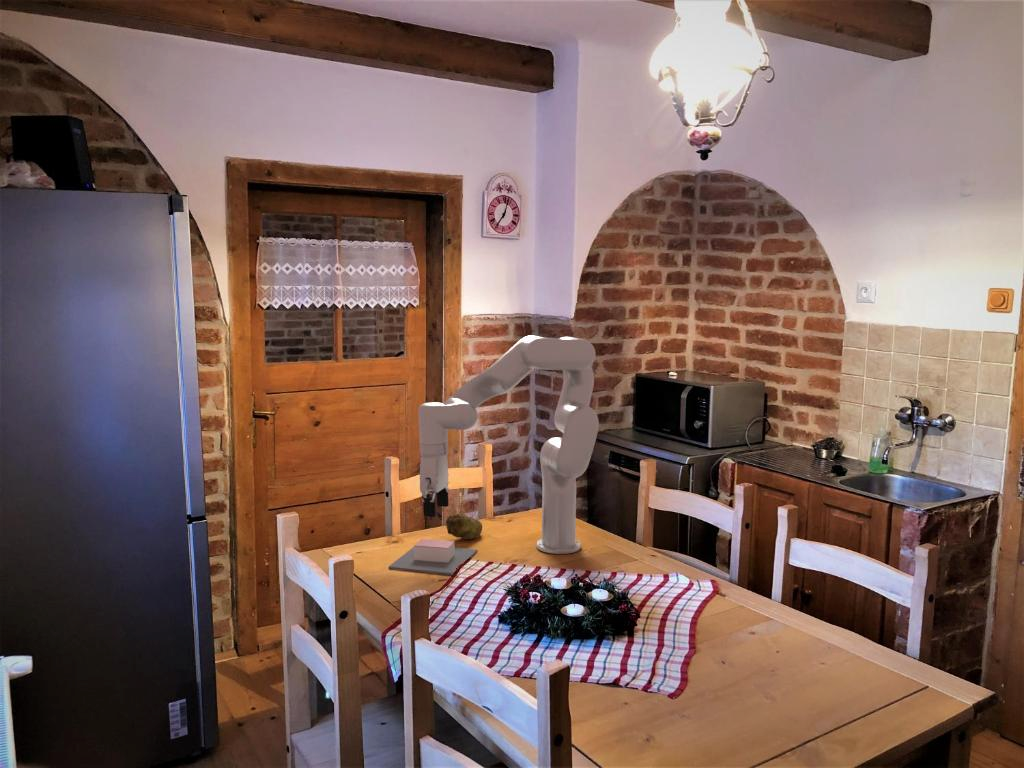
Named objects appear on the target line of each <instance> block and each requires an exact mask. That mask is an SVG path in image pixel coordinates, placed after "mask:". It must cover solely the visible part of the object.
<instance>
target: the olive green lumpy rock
mask: <svg viewBox="0 0 1024 768" xmlns="http://www.w3.org/2000/svg"><path fill="white" fill-rule="evenodd" d="M445 526H446V529H447V534H448V535H451V536H452V537H455V538H461V539H465V540H474V539H476V538H478V537H479V536H481V534H482V531H483V524H482V522H481V521H480V520H478V519H477V518H472V517H469V516H468V515H466V514H463V513H453V514H451V515H448V517H447V518H446V520H445Z"/></svg>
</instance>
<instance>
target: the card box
mask: <svg viewBox="0 0 1024 768" xmlns="http://www.w3.org/2000/svg"><path fill="white" fill-rule="evenodd" d="M455 543H456V542H455V540H454V541H453V540H441V539H430V538H420V540H418V541H417V542H416V543H415V544H414V546H413V547H414V560H422V561H434V562H447V563H448V562H449V561H450V560H451V559H452V558H453V557H454V556H455Z"/></svg>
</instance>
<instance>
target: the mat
mask: <svg viewBox="0 0 1024 768" xmlns="http://www.w3.org/2000/svg"><path fill="white" fill-rule="evenodd" d="M476 552H477V553H478V549H477V548H467V547H455V556H454V557H453V558H452V559H451V560H450V561H449V562H448V563H447V562H434V561H422V560H414V546H413V547H411V548H410V549H409V550H408V551H406V552H405V553H403V555H401V556H400V557H398V558H397V559H396V560H395V561H393V562H392V563H391V564H390V565H388V569H389V570H396V571H397V570H398V571H407V572H414V573H415V572H416V573H424V572H426V573H425V574H433V573H434V574H435V575H436V574H437V575H443V574H444V576H452V574H453V573H454V572H455V571H456V568H458V566H459V565H460V564H463V563H464V562H465V561H466V560H467V559H469V558H470V557H471V558H473V557H474V556H475V555H476V554H477V553H476ZM475 553H476V554H475ZM471 558H470V559H471ZM470 559H469V560H470ZM463 561H464V562H463ZM434 574H433V575H434Z"/></svg>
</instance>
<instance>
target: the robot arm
mask: <svg viewBox="0 0 1024 768" xmlns="http://www.w3.org/2000/svg"><path fill="white" fill-rule="evenodd" d="M596 357H597V356H596V349H595V347H594V345H593V344H592V343H591V342H590V341H589V340H587V339H584V338H579V337H574V336H563V337H560V338H552V337H543V336H538V335H527V336H524V337H522V338H521V339H519V340H518V341H517V342H516V343H515V344H514V345H512V347H510V348H509V349H508V350H507V351H506V352H505V353H504V354H503V355H502V356H500V357H499V358H498V359H497V360H496V361H495V362H493V364H492V365H491V366H489V367H487V368H486V369H485V370H483V371H481V372H480V373H479V374H477V375H476V376H474V377H473V378H470V380H468V381H467V382H466V383H464V384H463V385H462V386H461V387H460V388H458V389H457V390H456V391H455V392H453V394H452V395H450V396H449V397H448V398H447V399H446V400H445V402H444V403H442V402H435V401H434V402H431V401H430V402H425V403H422V404H420V405H419V407H418V431H419V433H418V434H419V455H420V456H421V457H420V464H419V492H420V493H421V498H422V502H423V503H422V504H423V505H422V506H423V508H422V509H423V516H424V517H429V518H430V517H431V518H435V517H436V516H437V515H436V513H437V511H436V509H437V508H436V505H437V507H441V508H442V507H443V508H444V507H445V508H447V507H449V505H450V504H449V474H450V473H449V465H448V464H449V463H448V457H447V456H448V455H449V437H448V436H449V435H448V434H449V431H448V430H452V431H453V430H454V431H455V430H456V431H457V430H458V431H467V430H470V429H471V428H474V426H475V425H476V423H477V422H478V417H479V415H478V411H477V408H478V407H479V406H481V405H482V404H483V403H485V402H486V401H488V400H490V399H492V398H495V397H497V396H502V395H504V394H506V393H508V392H510V391H512V390H513V389H514V388H515V387H516V386H517V385H518V384H519V383H520V382H521V381H522V380H524V379H525V378H526V377H527V376H528V375H529V374H530V373H531V372H533V371H534V370H535V369H537V370H545V371H546V370H548V371H549V370H550V371H562V374H563V382H562V387H561V391H560V392H561V393H560V396H559V399H558V402H557V406H556V409H555V414H554V417H553V423H554V426H555V428H556V429H557V430H558V431H559V432H561V433H563V434H562V437H561V436H559V437H557V436H556V437H551V438H549V439H547V440H546V441H545V442H544V443H543V445H542V446H541V448H540V449H541V450H540V453H539V455H540V456H539V458H540V460H539V462H540V468H541V479H542V480H541V481H542V482H541V483H542V487H541V488H542V495H541V496H542V497H541V498H542V499H541V501H542V502H541V503H542V504H541V539H538V540H537V542H536V545H535V546H536V548H537V549H538V550H539V551H541V552H544V553H547V554H554V555H555V554H556V555H563V554H565V555H566V554H573V553H576V552H578V551H580V550H581V547H582V546H581V545H582V544H581V542H580V541H579V540H576V527H577V526H576V520H577V519H576V517H577V515H576V513H577V512H576V510H577V505H576V504H577V481H576V479H577V478H579V477H581V476H582V475H583V474H584V473H585V472H586V471H587V469H588V467H589V465H590V461H591V457H592V455H593V451H594V447H595V443H596V440H597V436H598V432H599V427H600V426H599V424H600V422H599V417H598V414H597V412H596V411H595V410H594V409H593V408H592V407H590V403H591V399H592V394H593V390H594V385H595V375H594V370H593V367H592V365H593V363H594V362H595V360H596ZM435 497H436V501H435Z"/></svg>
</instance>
